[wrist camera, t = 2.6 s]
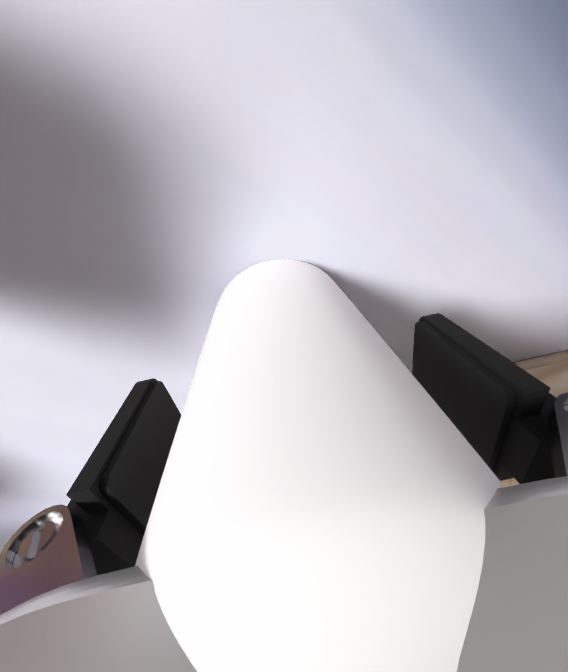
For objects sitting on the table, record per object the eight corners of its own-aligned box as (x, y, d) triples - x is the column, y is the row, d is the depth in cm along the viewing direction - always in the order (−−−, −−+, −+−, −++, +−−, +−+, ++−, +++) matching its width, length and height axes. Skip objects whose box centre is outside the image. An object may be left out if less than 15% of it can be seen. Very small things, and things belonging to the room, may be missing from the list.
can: (364, 275, 12) (912, 723, 2) (318, 379, 15) (451, 778, 5) (228, 238, 11) (-186, 1065, 1) (207, 361, 14) (71, 862, 4)
